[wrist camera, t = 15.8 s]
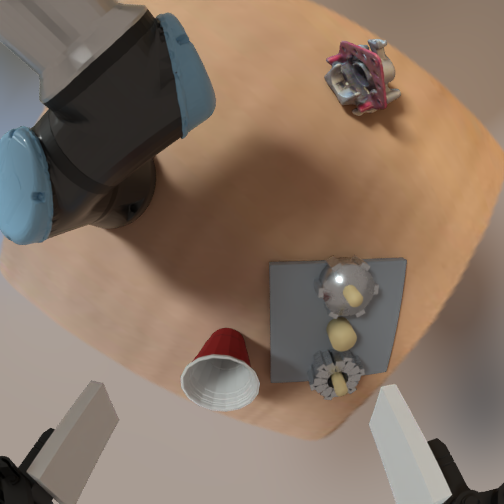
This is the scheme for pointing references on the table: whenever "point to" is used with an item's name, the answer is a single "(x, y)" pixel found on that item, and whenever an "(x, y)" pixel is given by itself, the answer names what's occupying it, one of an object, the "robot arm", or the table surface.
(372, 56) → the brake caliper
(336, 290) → the seated gear
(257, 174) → the table surface
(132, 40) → the robot arm
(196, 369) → the plastic cup
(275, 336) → the plate
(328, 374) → the planet gear
